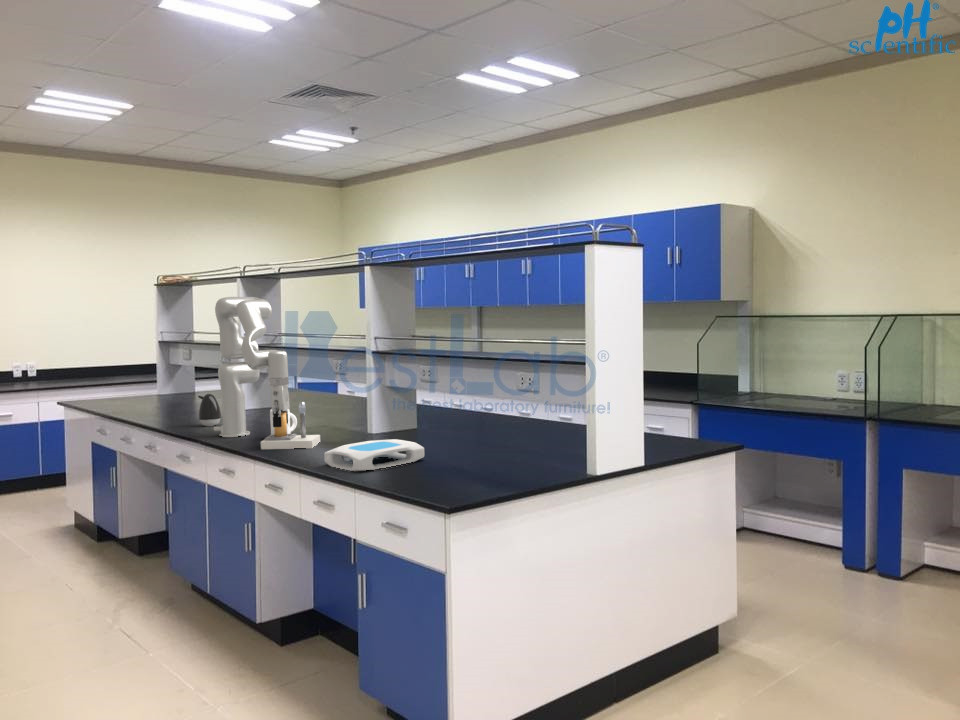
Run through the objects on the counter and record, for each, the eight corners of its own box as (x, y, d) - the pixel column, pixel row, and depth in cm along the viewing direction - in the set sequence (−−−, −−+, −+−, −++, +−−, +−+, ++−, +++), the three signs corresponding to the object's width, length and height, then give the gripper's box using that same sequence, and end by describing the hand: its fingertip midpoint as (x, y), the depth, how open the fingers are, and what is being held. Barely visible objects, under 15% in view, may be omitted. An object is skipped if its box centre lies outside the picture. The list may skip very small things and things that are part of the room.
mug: (302, 436, 333) (301, 408, 332) (277, 440, 325) (276, 411, 324) (292, 434, 339) (291, 406, 338) (267, 438, 331) (266, 409, 330)
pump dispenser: (204, 424, 377) (203, 392, 376) (225, 424, 376) (223, 392, 375) (194, 427, 367) (192, 395, 366) (215, 427, 366) (213, 394, 365)
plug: (271, 439, 308) (270, 414, 307) (275, 437, 314) (274, 412, 313) (286, 439, 308) (285, 414, 307) (290, 437, 313) (289, 412, 313)
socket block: (260, 449, 304) (260, 439, 304) (271, 443, 318) (270, 433, 318) (312, 448, 304) (312, 438, 303) (320, 442, 318) (319, 432, 317)
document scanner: (323, 466, 270) (323, 448, 270) (388, 454, 289) (388, 437, 289) (359, 474, 255) (359, 455, 255) (425, 461, 274) (425, 443, 274)
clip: (306, 442, 298) (305, 405, 297) (300, 442, 297) (298, 406, 296) (306, 436, 312) (305, 401, 311) (300, 436, 311) (299, 401, 310)
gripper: (282, 383, 300) (284, 428, 301) (293, 380, 318) (295, 422, 319) (262, 384, 300) (265, 428, 301) (275, 380, 318) (277, 422, 319)
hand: (280, 425), depth 310 cm, fingers open, 9 cm apart
